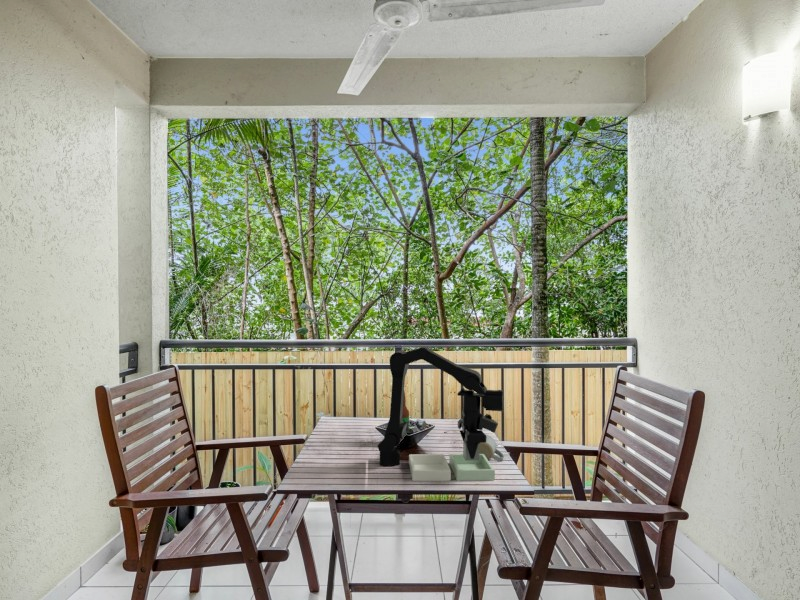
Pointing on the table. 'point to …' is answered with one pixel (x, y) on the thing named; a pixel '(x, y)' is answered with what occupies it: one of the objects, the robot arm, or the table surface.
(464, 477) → the green bin
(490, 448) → the ceramic mug
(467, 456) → the stone block
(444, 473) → the cream bin
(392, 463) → the robot arm
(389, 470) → the table surface
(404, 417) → the bottle
